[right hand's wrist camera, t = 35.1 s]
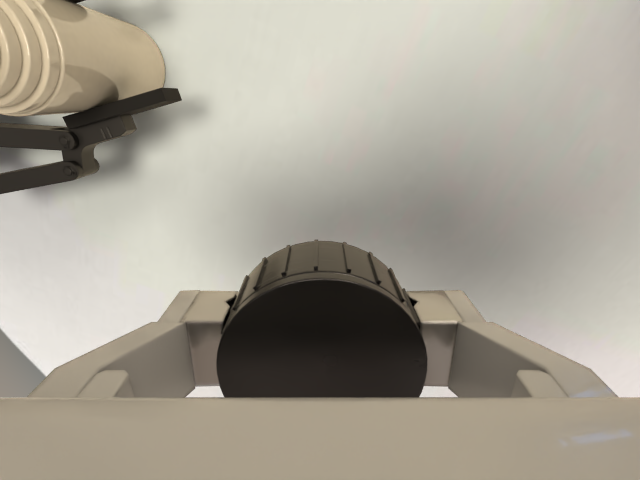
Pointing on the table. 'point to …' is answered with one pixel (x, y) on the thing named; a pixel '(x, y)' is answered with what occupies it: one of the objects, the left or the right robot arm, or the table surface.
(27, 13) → the bottle
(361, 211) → the table surface
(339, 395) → the cap
